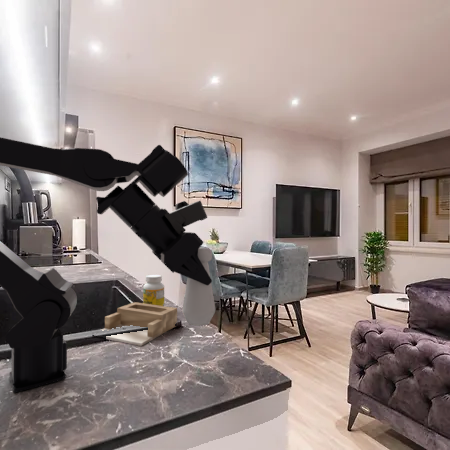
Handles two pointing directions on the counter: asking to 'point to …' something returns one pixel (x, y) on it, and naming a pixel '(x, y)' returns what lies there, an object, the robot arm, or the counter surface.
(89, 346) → the counter surface
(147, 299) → the supplement bottle
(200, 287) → the salt shaker
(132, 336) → the dock
